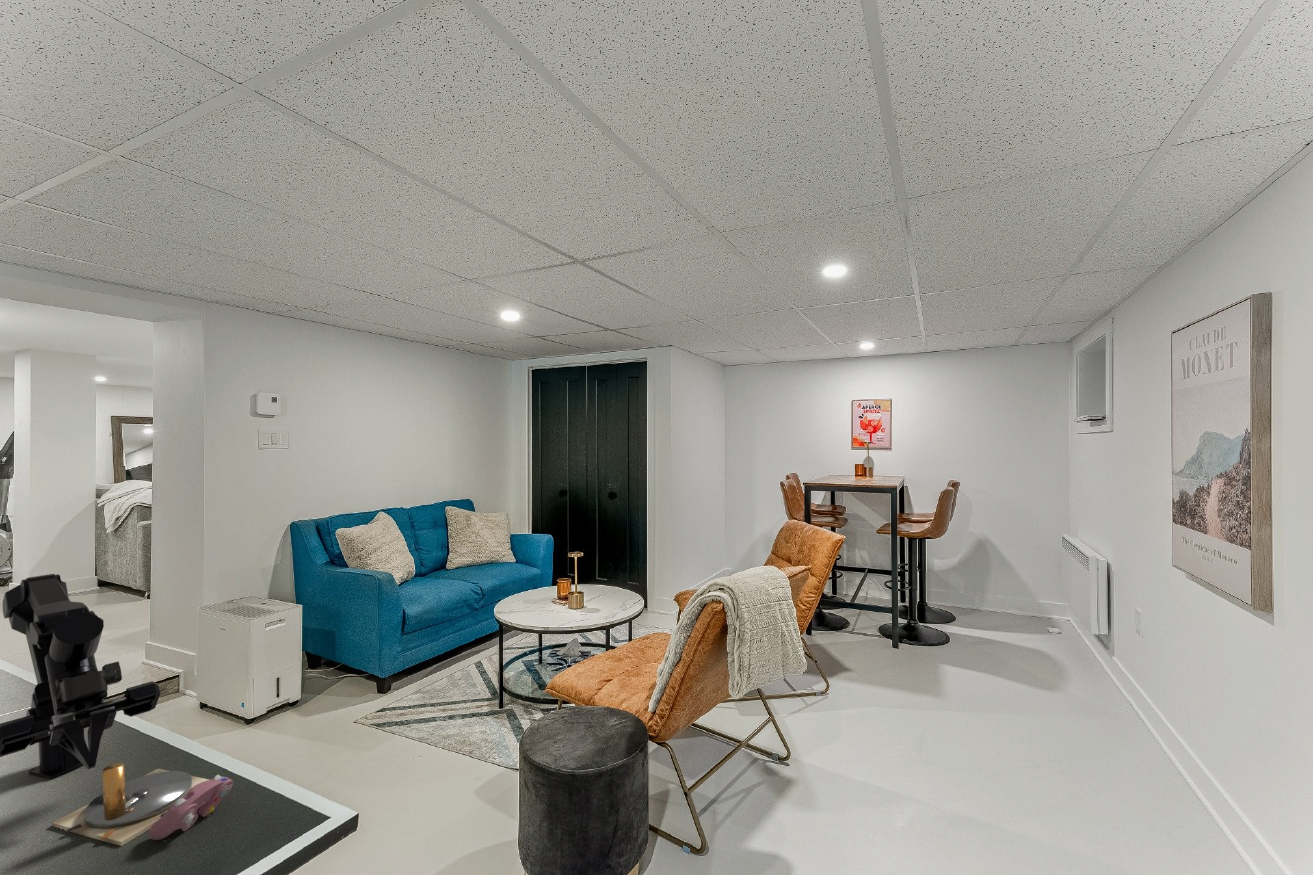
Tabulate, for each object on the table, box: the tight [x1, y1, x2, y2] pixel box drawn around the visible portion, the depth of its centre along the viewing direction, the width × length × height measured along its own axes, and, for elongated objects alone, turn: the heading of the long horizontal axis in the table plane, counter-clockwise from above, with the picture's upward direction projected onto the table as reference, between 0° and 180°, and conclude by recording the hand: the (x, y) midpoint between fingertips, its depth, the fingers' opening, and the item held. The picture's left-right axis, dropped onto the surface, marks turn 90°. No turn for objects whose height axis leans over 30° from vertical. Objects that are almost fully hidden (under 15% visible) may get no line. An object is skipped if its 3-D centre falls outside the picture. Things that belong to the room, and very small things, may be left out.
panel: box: [51, 768, 209, 847], centre depth 94 cm, size 16×15×1 cm
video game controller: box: [148, 774, 235, 841], centre depth 91 cm, size 10×5×7 cm, turn 169°
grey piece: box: [84, 762, 192, 828], centre depth 95 cm, size 13×13×8 cm
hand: (91, 767), depth 92 cm, fingers closed
